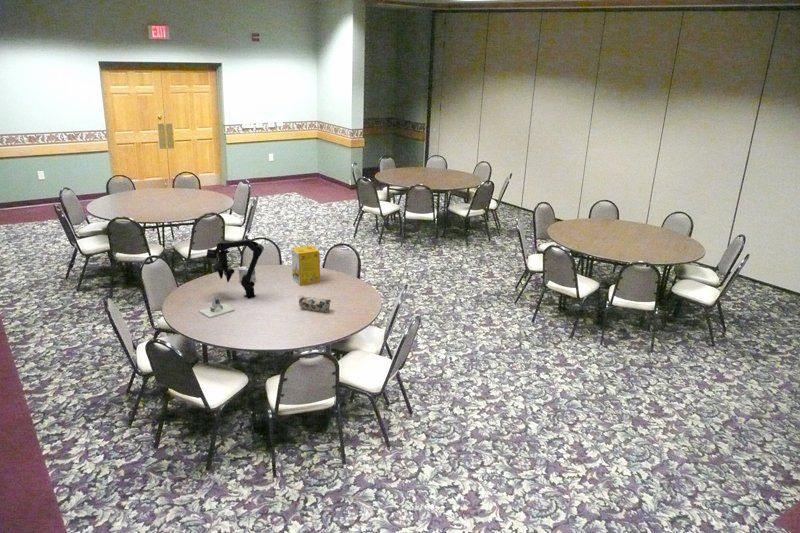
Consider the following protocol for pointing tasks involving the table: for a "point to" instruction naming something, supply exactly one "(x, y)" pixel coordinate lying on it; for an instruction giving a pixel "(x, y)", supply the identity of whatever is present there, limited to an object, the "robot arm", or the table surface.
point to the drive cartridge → (216, 302)
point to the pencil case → (314, 303)
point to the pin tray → (211, 313)
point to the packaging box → (305, 265)
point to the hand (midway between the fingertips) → (224, 280)
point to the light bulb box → (244, 271)
